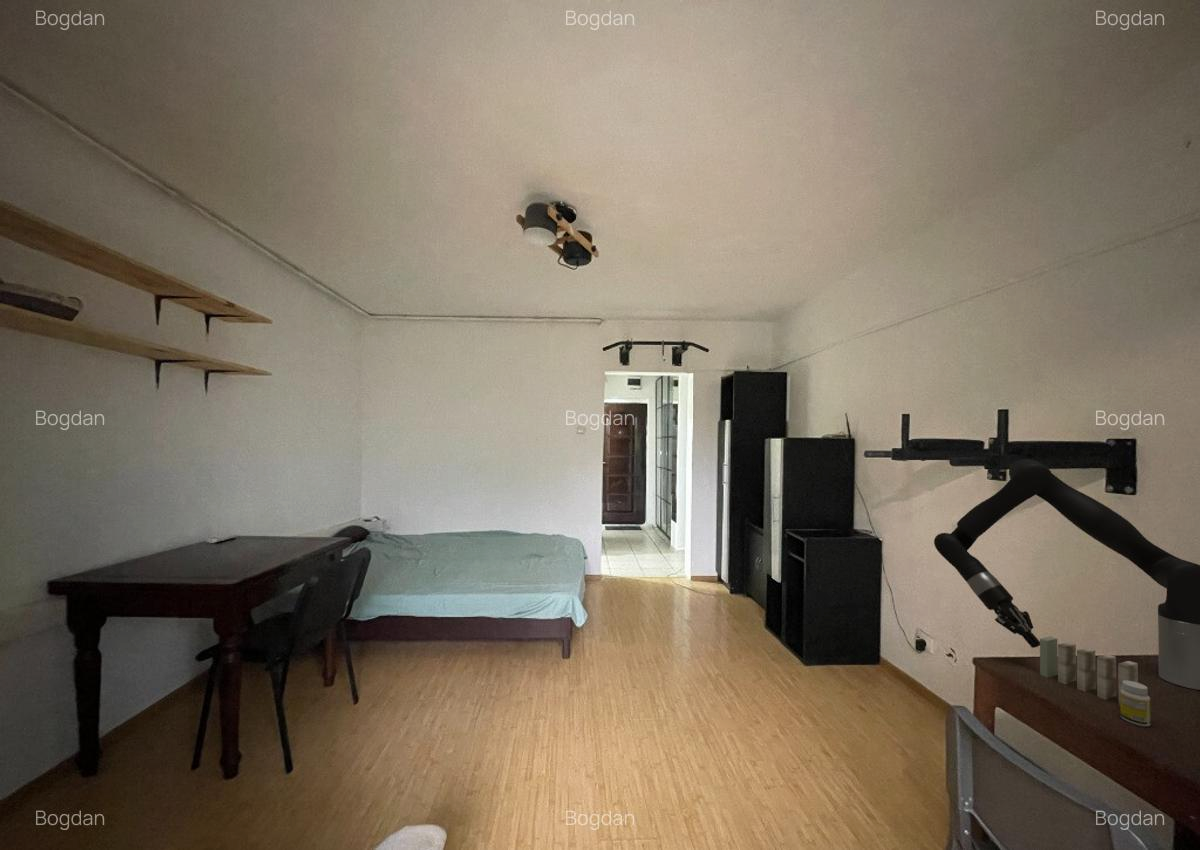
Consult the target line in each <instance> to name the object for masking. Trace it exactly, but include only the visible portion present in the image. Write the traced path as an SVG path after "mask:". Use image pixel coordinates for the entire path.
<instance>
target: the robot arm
mask: <svg viewBox="0 0 1200 850" xmlns="http://www.w3.org/2000/svg"><path fill="white" fill-rule="evenodd" d="M1008 476H1009V480H1008V482H1006V484H1005V485H1004V486H1003V487H1002V488H1001V489H999V491H997V492H996V493H994V494H993V495H992V496H990V497H989V498H987V499H985V500H983V501H982V502H980V503H978V504H977V505H975V506H974V507H973V508H972V509H970V510H969V511H967V513H966V514H965V515H963V516H962V517H961V518H960V519H959V520H958V521H957V522H956V525H957V527H956V528H955V529H954V530H953V531H952V532H951V533H949V532H941V533H938V534H937V535H936V536H935V538H934V540H933V545H934V547H935V549H936V550H937V552H938V553H939V554H940V556H942V557H943V559H945V560H946V561H947V562H948V563H949V564H950V565H951V566H952V567H953V568H954V569H955V570H956V571H957V572H958V573H959V575H960V576H961V577H962V578H963V580H964V581H965V582H966V583H967V584H968V586H969V587H970V589H971V590H972V592H973V593H974V594H975V595H976V596H977V597H978V598H979V599H978V600H980V601H981V602H982V604H983V605H984V606H985V607H986V609H988V610H989V611H994V613H995V615H996V618H995V619H994V621H995V622H996V623H998V624H999V625H1001V626H1003V627H1004V628H1005V629H1007V630H1008V632H1009V631H1010V632H1011V633H1012V634H1014V635H1016V634H1018V636H1021V637H1022V638H1023V639H1024V640H1025V641H1026V642H1027V644H1028V645H1029V646H1030V647H1031V648H1032V649H1033V648H1035V649H1036V648H1038V647H1040V639H1038V638H1037V637H1036V635H1035V634H1034V633H1033V632H1032V629H1034V625H1033V623H1032V619H1031V617H1030V614H1029V612H1028V611H1026V610H1024V611H1021V610H1020V609H1019V608H1018V607H1017V605H1015V604H1014V603H1013V600H1014V597H1013V595H1012V594H1010V592H1009V591H1008V590H1007V589H1006V587H1004V585H1003V584H1002V583H1001V582H1000V581H999V580H998V579H997V578H996V576H994V575H993V574H992V572H990V571H989V570H988V569H987V568H986V566H985V565H984V564H983V563H982V562H981V561H980V559H978V558H977V557H975V556H974V555H972V554H970V553H969V551H968V550H970V548H971V547H972V546H973V545H974V544H975V542H976V541H977V540H978V538H980V536H982V535H983V534H984V533H986V531H988V530H989V529H990V528H991V527H993V526H994V525H995V524H997V522H999V521H1000V520H1001V519H1002V518H1003V517H1005V516H1006V515H1007V514H1009V513H1010V512H1011V511H1012V510H1014V509H1015V508H1017V507H1018V506H1020V505H1021V504H1023V503H1024V502H1026V501H1028V500H1030V499H1031V498H1033V497H1035V496H1037V497H1039V498H1041V499H1042V500H1044V501H1045V502H1046V503H1048V504H1049V505H1051V507H1053V508H1054V509H1055V510H1056V511H1057V512H1059V514H1061V516H1063V517H1064V518H1065V519H1067V520H1068V521H1069V522H1071V523H1072V524H1073V525H1074V526H1075V527H1077V528H1078V529H1079V530H1081V531H1083V532H1084V533H1085V534H1087V535H1088V536H1090V537H1091V538H1093V539H1094V540H1096V541H1098V542H1099V543H1100V544H1102V545H1103V546H1105V547H1107V548H1108V549H1110V550H1111V551H1113V552H1115V553H1117V554H1118V555H1121V556H1123V557H1124V558H1126V559H1127V560H1128V561H1130V562H1131V563H1132V564H1134V566H1136V567H1137V568H1139V569H1140V570H1141V571H1143V572H1144V573H1145V574H1146V575H1148V577H1150V578H1151V579H1152V580H1153V581H1155V582H1156V583H1157V584H1158V585H1160V586H1162V587H1163V588H1164V589H1166V596H1165V597H1166V598H1165V601H1164V602H1162V603H1159V604H1158V606H1157V629H1158V631H1157V633H1158V634H1157V635H1158V636H1157V637H1158V639H1157V640H1158V641H1157V644H1158V646H1157V647H1158V650H1157V651H1158V677H1159V678H1161V679H1162V680H1164V681H1167V683H1168V682H1169V683H1170V684H1171V683H1172V684H1174V685H1177V686H1180V687H1183V688H1188V689H1192V690H1198V691H1200V564H1198V563H1194V562H1192V561H1189V560H1185V559H1182V558H1180V557H1177V556H1175V555H1173V554H1171V553H1169V552H1168V551H1166V550H1164V549H1163V548H1160V547H1159V546H1157V545H1155V544H1154V543H1153V542H1151V541H1150V540H1148V539H1147V538H1146V537H1145V536H1144V535H1143V534H1142V533H1141V532H1140V531H1139V530H1138V529H1137V528H1136V526H1134V524H1133V523H1131V522H1130V521H1129V520H1128V519H1126V518H1125V517H1123V516H1122V515H1121V514H1119V513H1118V512H1116V511H1114V510H1113V509H1111V508H1110V507H1109V506H1106V505H1105V504H1104V503H1101V502H1100V501H1098V500H1096V499H1095V498H1093V497H1091V496H1089V495H1087V494H1085V493H1083V492H1081V491H1080V490H1078V489H1076V488H1074V487H1072V486H1070V485H1068V484H1067V483H1066V482H1064V481H1063V480H1062V479H1060V478H1058V476H1056V475H1055V474H1054V473H1053V472H1052V470H1051V469H1049V467H1047V466H1046V465H1045V464H1043V463H1042V462H1039V461H1037V460H1035V459H1029V458H1028V459H1019V460H1016V461H1013V462H1012V464H1010V466H1009V469H1008Z"/></svg>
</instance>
